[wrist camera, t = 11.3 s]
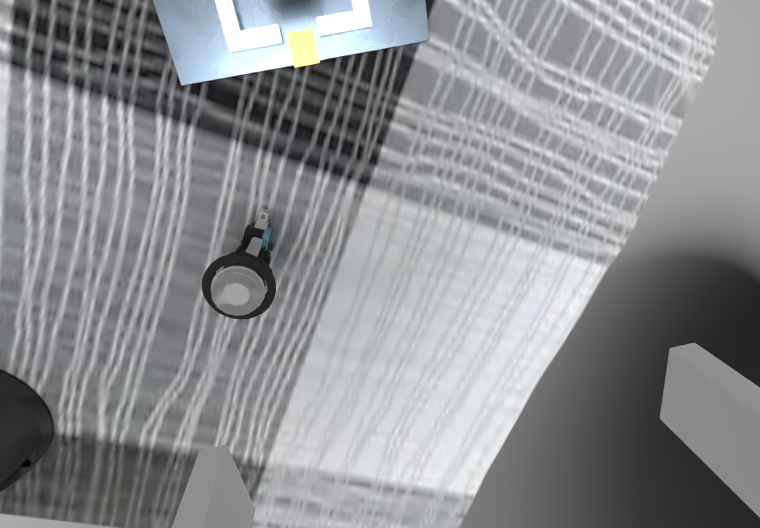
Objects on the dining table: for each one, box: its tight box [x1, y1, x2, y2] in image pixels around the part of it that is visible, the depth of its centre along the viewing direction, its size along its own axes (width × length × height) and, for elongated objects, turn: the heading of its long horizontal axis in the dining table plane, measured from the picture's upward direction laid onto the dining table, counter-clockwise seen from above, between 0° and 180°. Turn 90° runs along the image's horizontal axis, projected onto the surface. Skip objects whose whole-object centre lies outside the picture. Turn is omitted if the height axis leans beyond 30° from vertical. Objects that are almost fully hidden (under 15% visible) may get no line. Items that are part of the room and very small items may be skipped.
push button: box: [202, 208, 276, 319], centre depth 34 cm, size 7×5×10 cm
